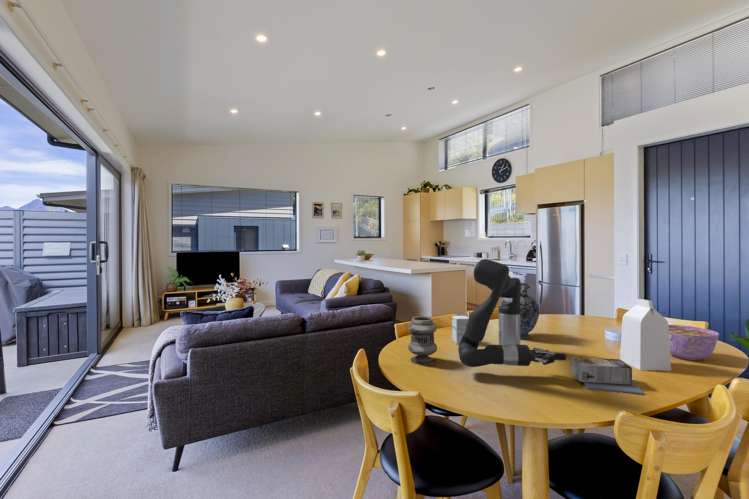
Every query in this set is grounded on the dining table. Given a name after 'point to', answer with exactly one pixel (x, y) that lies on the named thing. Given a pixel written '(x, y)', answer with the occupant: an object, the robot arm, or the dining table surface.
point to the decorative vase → (526, 312)
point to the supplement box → (458, 328)
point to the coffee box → (601, 370)
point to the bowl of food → (691, 342)
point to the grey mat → (614, 387)
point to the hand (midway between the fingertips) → (564, 356)
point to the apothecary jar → (422, 339)
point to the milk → (645, 338)
